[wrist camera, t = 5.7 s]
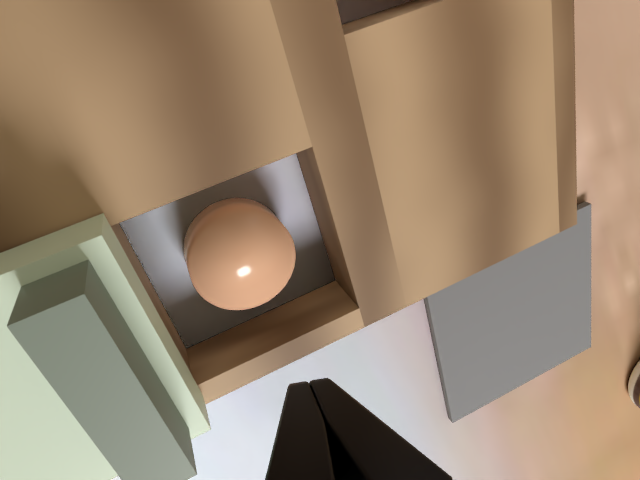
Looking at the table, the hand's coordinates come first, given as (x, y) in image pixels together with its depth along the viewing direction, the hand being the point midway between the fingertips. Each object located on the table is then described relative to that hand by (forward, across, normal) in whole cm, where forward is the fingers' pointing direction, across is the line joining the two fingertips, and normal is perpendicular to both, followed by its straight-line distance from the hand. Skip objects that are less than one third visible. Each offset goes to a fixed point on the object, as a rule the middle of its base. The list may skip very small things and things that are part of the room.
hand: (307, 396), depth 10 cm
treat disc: (+10, -1, -2) cm, 11 cm away
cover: (+7, -8, -4) cm, 11 cm away
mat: (+11, +14, -9) cm, 20 cm away
